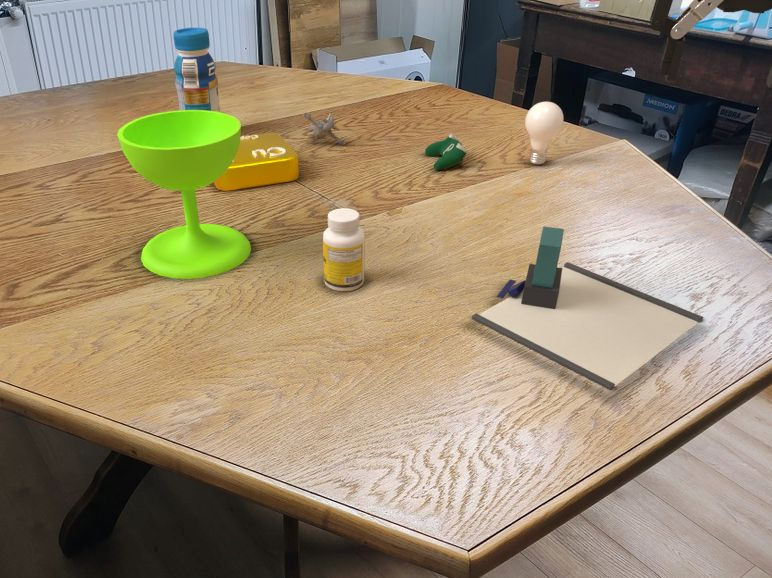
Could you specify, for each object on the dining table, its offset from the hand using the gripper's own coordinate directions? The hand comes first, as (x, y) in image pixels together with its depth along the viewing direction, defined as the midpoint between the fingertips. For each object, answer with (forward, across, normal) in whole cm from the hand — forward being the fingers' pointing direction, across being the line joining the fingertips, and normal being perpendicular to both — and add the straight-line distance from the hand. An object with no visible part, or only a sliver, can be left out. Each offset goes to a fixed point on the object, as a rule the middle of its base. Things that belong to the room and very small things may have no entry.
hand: (719, 83), depth 63 cm
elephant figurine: (+28, +58, -51) cm, 82 cm away
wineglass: (+28, +60, -2) cm, 66 cm away
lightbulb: (+28, +17, -51) cm, 61 cm away
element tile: (+28, +65, -33) cm, 78 cm away
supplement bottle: (+28, +37, 0) cm, 46 cm away
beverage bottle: (+28, +84, -49) cm, 101 cm away
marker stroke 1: (+28, +16, -3) cm, 32 cm away
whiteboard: (+28, +6, +1) cm, 29 cm away
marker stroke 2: (+27, +14, -3) cm, 31 cm away
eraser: (+27, +12, -3) cm, 30 cm away
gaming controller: (+28, +32, -48) cm, 64 cm away
